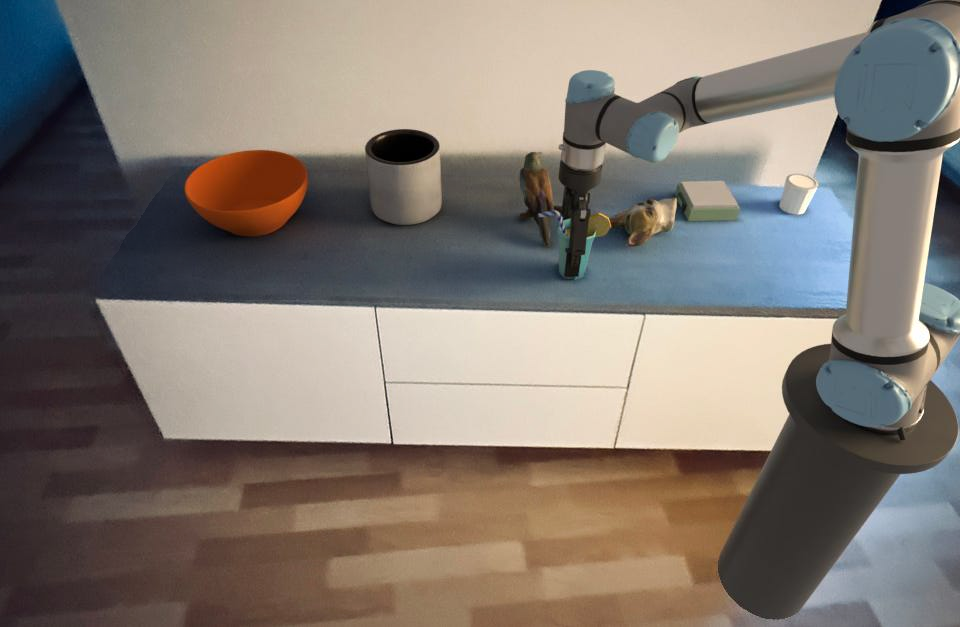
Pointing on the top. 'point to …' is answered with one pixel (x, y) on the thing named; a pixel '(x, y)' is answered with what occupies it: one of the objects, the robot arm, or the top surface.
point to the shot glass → (797, 193)
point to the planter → (404, 176)
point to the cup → (596, 228)
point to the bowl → (248, 191)
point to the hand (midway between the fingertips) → (568, 264)
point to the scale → (706, 201)
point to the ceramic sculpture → (646, 219)
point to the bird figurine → (537, 193)
